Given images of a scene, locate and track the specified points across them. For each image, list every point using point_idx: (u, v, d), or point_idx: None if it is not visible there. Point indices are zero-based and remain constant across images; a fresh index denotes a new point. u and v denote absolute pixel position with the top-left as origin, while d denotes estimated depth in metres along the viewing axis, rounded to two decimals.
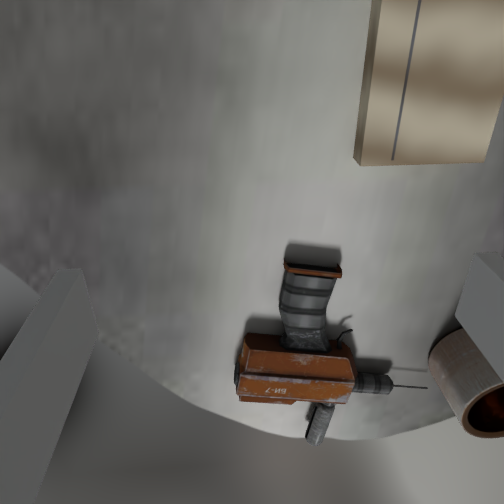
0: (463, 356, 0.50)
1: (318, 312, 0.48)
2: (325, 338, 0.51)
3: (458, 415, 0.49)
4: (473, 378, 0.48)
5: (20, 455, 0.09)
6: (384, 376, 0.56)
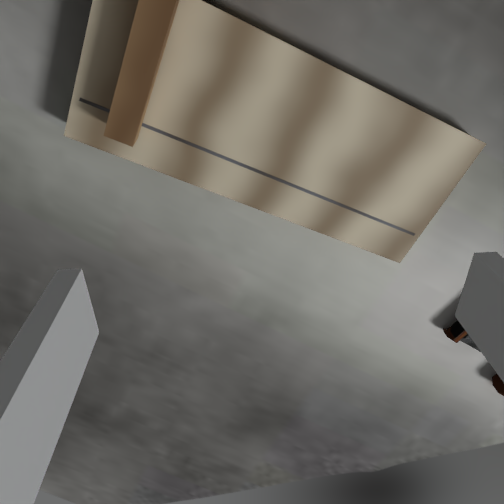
0: None
1: None
2: None
3: None
4: None
5: (20, 455, 0.09)
6: None
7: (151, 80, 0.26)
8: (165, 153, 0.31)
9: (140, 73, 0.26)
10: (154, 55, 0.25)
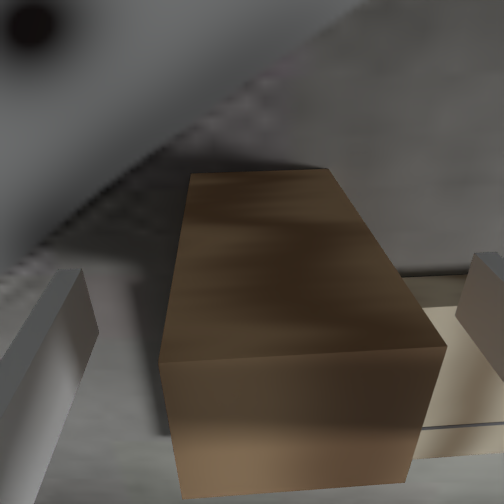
0: None
1: None
2: None
3: None
4: None
5: (20, 455, 0.09)
6: None
7: None
8: None
9: None
10: None
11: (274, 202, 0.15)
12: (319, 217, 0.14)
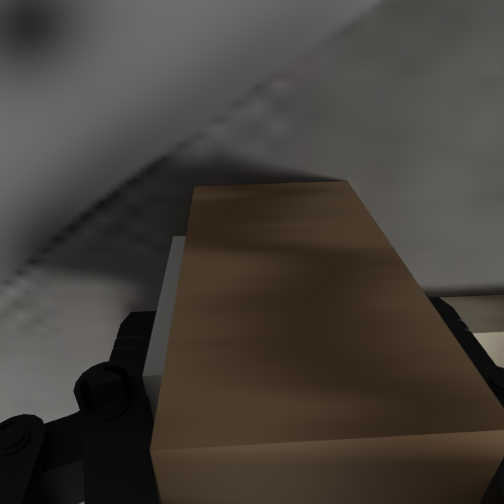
0: None
1: None
2: None
3: None
4: None
5: None
6: None
7: None
8: None
9: None
10: None
11: (288, 222, 0.13)
12: (342, 242, 0.12)
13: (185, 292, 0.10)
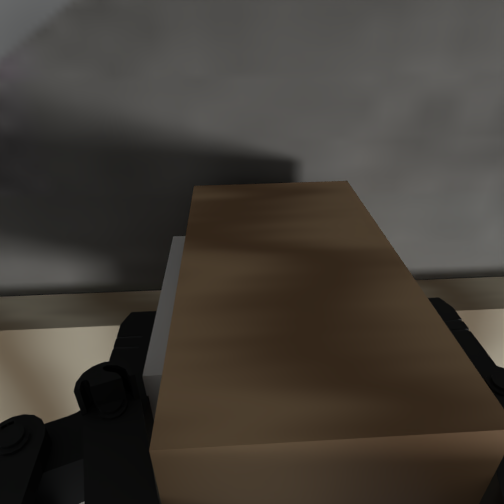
0: None
1: None
2: None
3: None
4: None
5: None
6: None
7: None
8: None
9: None
10: None
11: (288, 222, 0.13)
12: (341, 242, 0.12)
13: (185, 292, 0.10)
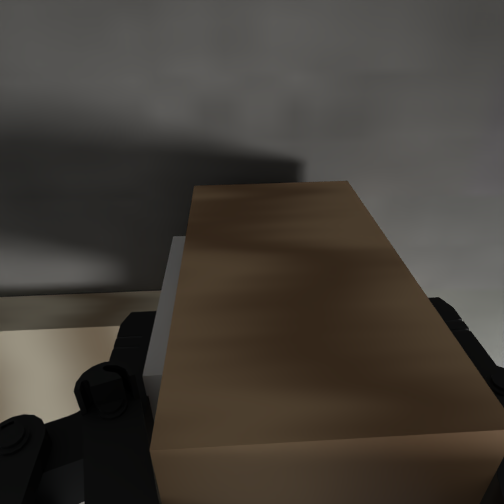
0: None
1: None
2: None
3: None
4: None
5: None
6: None
7: None
8: None
9: None
10: None
11: (288, 222, 0.13)
12: (342, 242, 0.12)
13: (185, 292, 0.10)
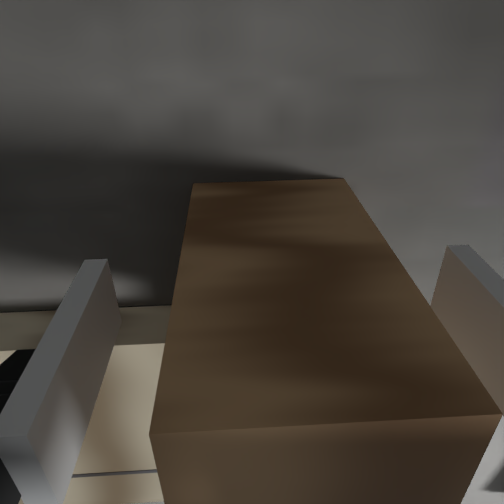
0: None
1: None
2: None
3: None
4: None
5: (60, 432, 0.10)
6: None
7: None
8: None
9: None
10: None
11: (285, 218, 0.13)
12: (337, 237, 0.12)
13: (183, 285, 0.10)
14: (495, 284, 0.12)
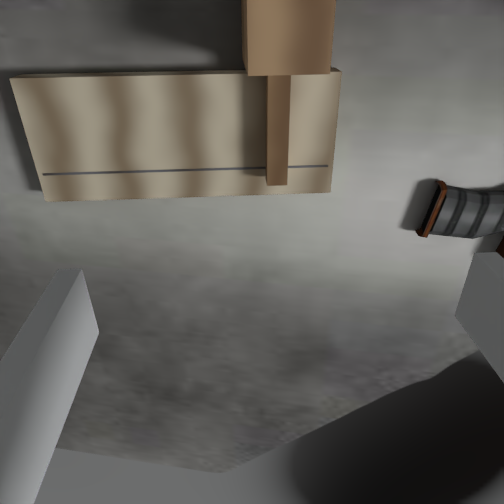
0: None
1: (484, 206, 0.46)
2: None
3: None
4: None
5: (20, 455, 0.09)
6: None
7: (288, 138, 0.38)
8: (112, 185, 0.42)
9: (280, 137, 0.38)
10: (286, 122, 0.38)
11: None
12: None
13: None
14: None
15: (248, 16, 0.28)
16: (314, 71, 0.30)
